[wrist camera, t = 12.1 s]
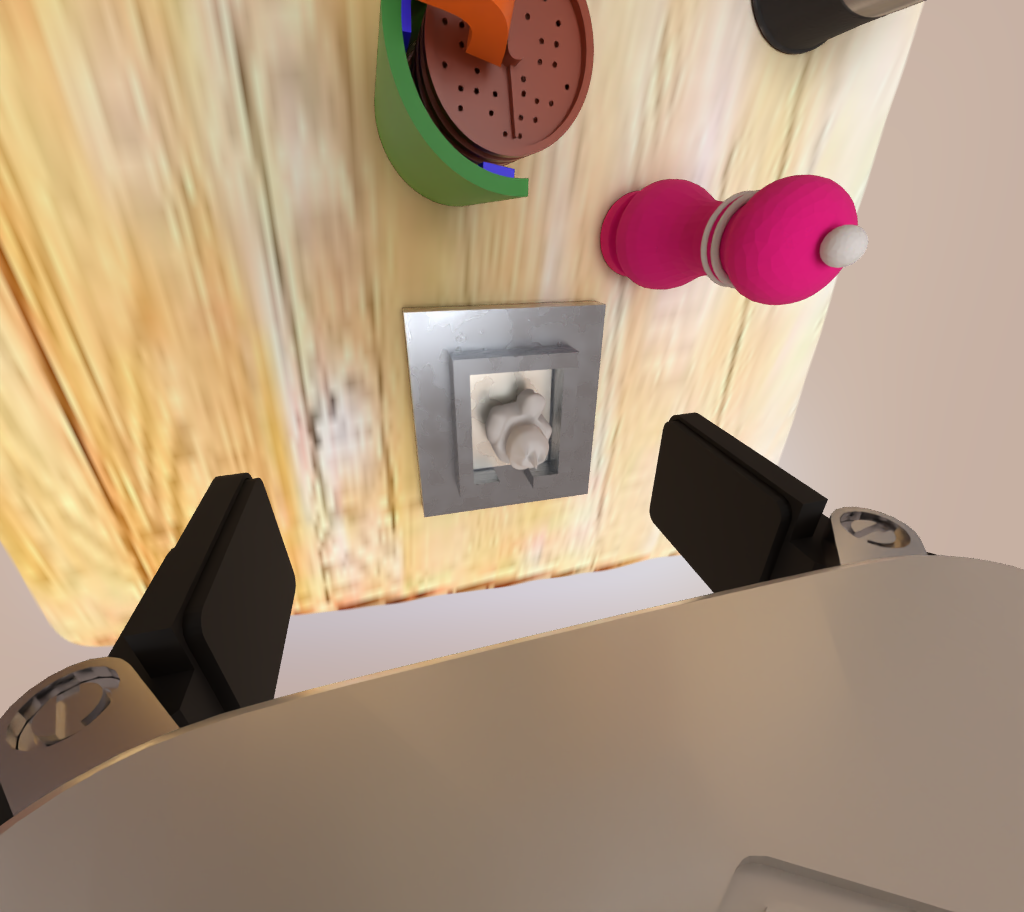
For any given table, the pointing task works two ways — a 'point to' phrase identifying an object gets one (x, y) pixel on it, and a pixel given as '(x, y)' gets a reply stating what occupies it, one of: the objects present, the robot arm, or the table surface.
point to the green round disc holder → (477, 90)
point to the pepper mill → (736, 237)
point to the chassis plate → (501, 398)
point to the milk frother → (817, 19)
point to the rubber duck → (520, 431)
